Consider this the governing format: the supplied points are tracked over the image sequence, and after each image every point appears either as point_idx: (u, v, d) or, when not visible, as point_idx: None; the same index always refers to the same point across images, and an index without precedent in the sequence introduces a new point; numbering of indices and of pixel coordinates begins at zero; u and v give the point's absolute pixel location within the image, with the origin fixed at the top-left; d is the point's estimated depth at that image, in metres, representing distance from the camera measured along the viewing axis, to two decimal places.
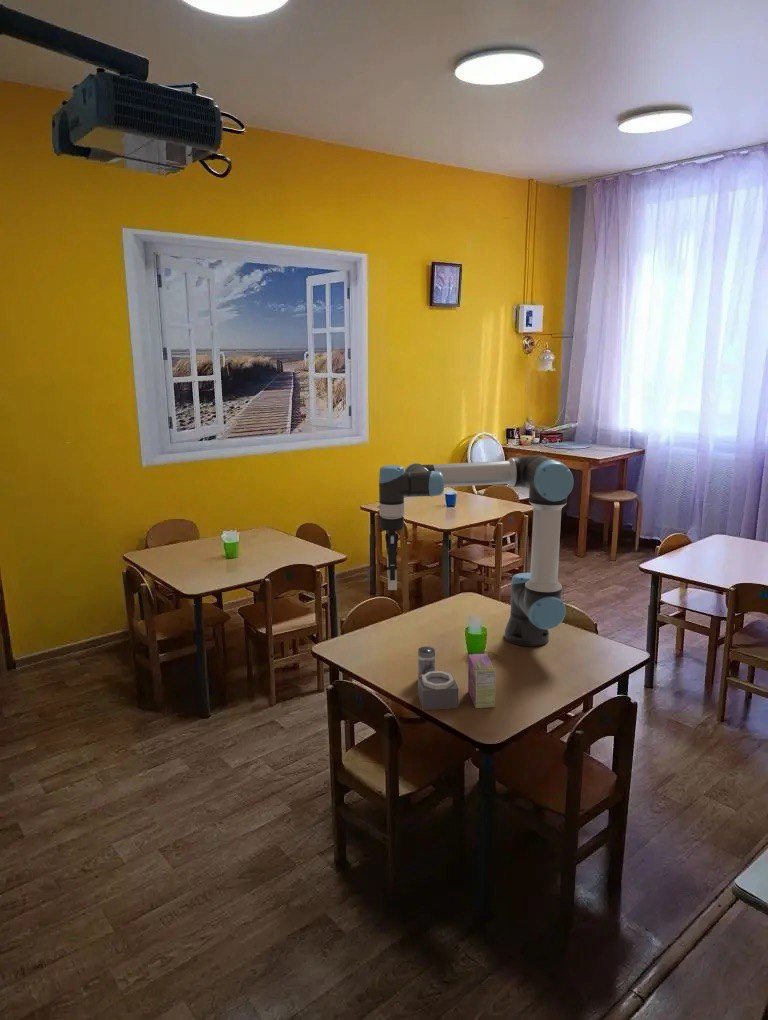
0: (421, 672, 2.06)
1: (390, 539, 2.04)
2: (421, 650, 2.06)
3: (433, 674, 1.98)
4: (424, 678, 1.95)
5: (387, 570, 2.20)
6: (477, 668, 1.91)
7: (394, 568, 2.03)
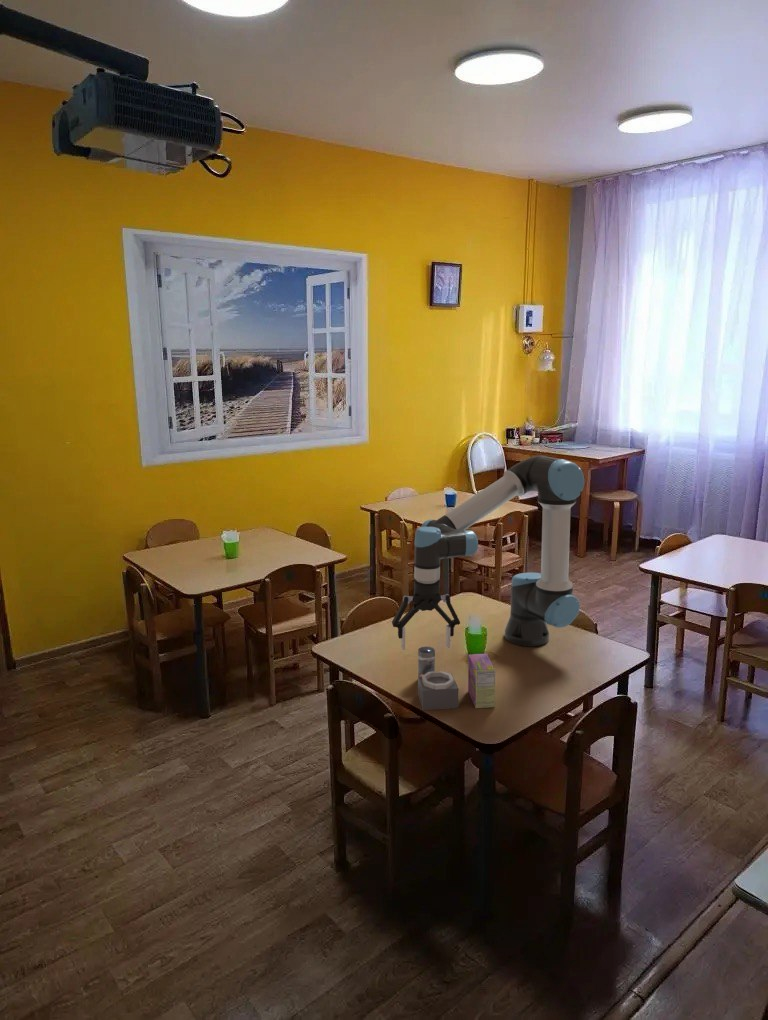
0: (421, 672, 2.06)
1: (403, 597, 2.03)
2: (421, 650, 2.06)
3: (433, 674, 1.98)
4: (424, 678, 1.95)
5: None
6: (477, 668, 1.91)
7: (392, 624, 2.03)
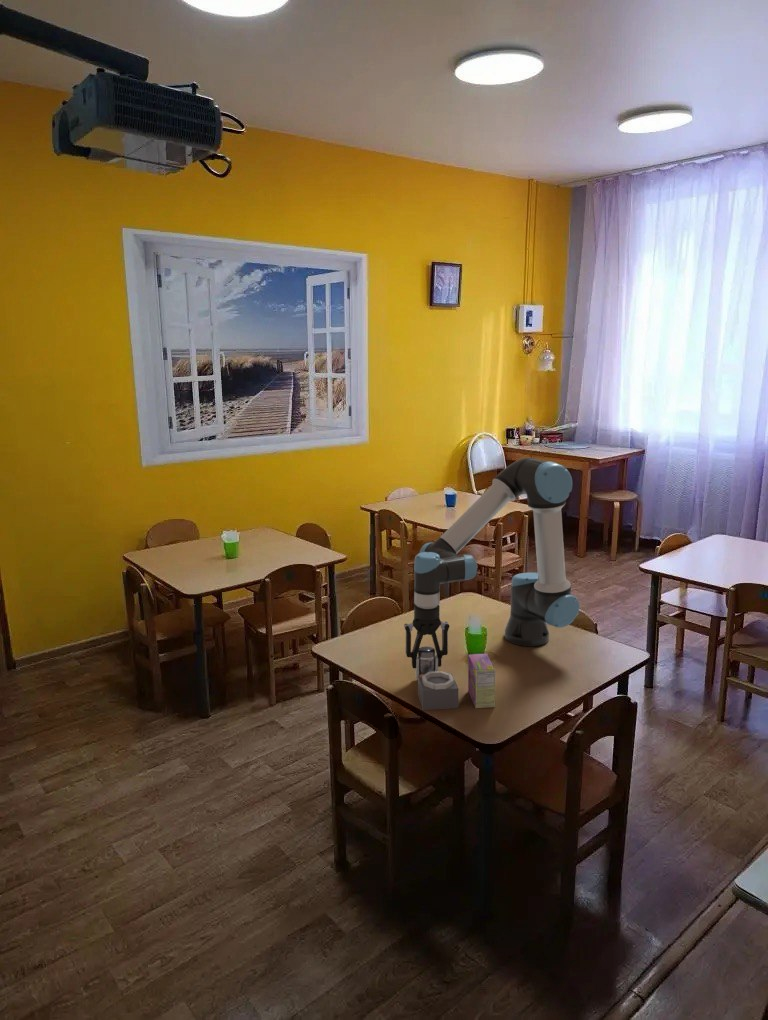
0: (421, 672, 2.06)
1: None
2: (421, 650, 2.06)
3: (433, 674, 1.98)
4: (424, 678, 1.95)
5: None
6: (477, 668, 1.91)
7: None
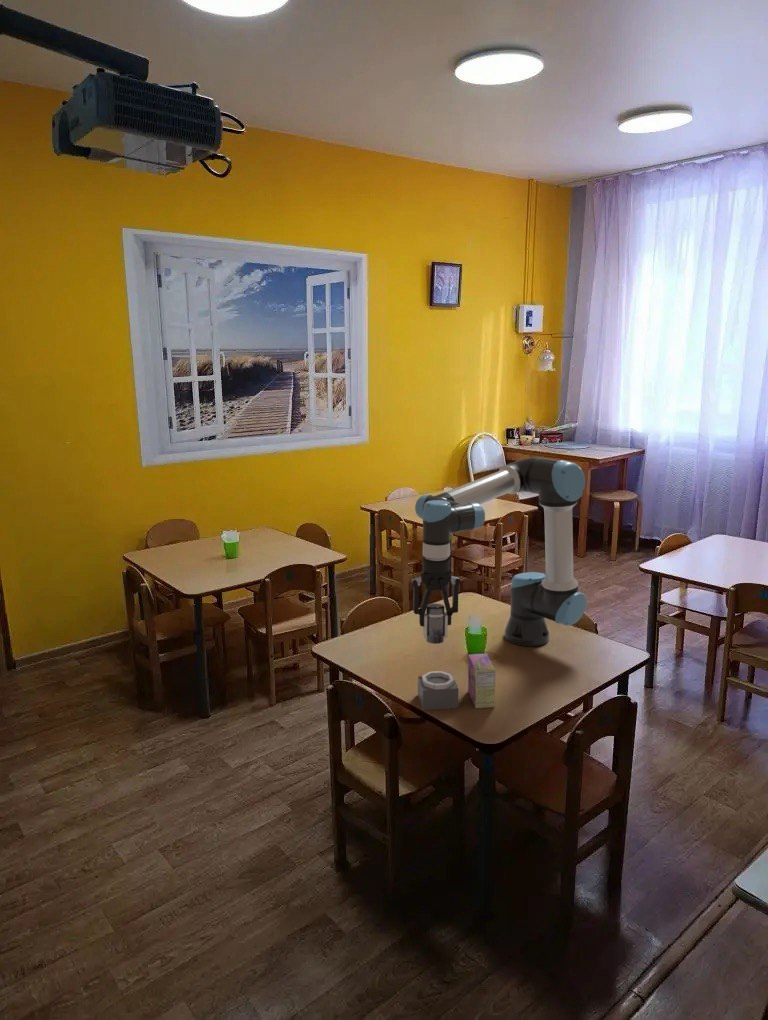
0: (429, 630, 1.92)
1: (412, 581, 1.90)
2: (429, 607, 1.92)
3: (433, 674, 1.98)
4: (424, 678, 1.95)
5: None
6: (477, 668, 1.91)
7: (414, 611, 1.91)
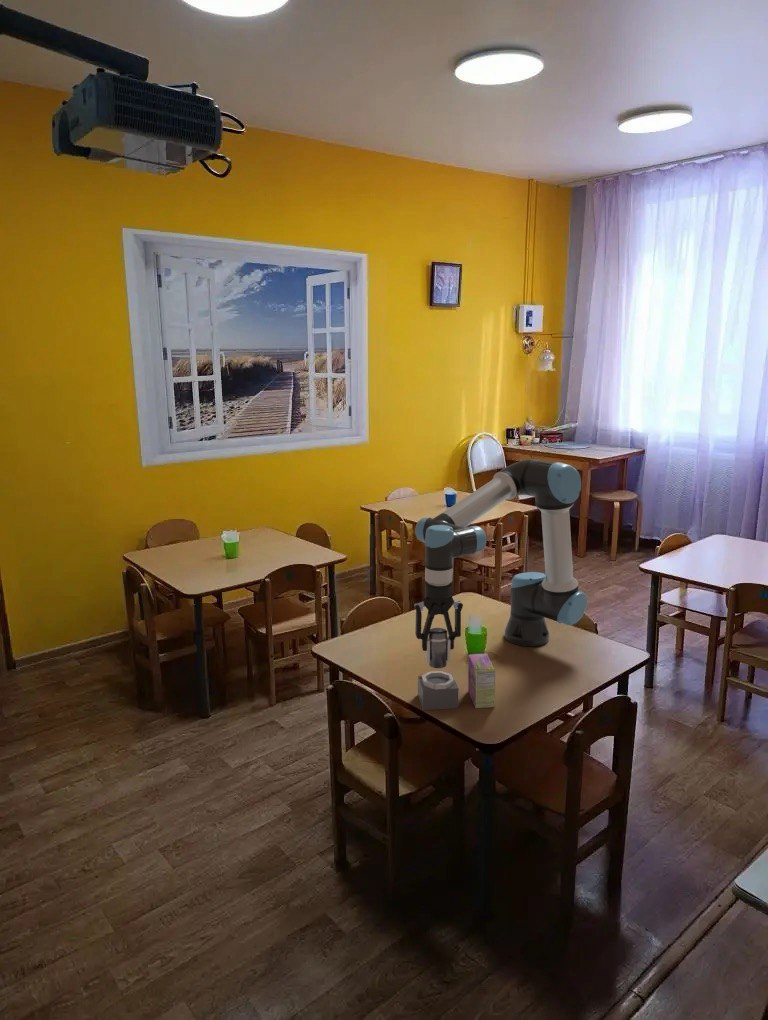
0: (432, 655, 1.91)
1: (414, 606, 1.90)
2: (432, 631, 1.91)
3: (433, 674, 1.98)
4: (424, 678, 1.95)
5: None
6: (477, 668, 1.91)
7: (416, 636, 1.91)
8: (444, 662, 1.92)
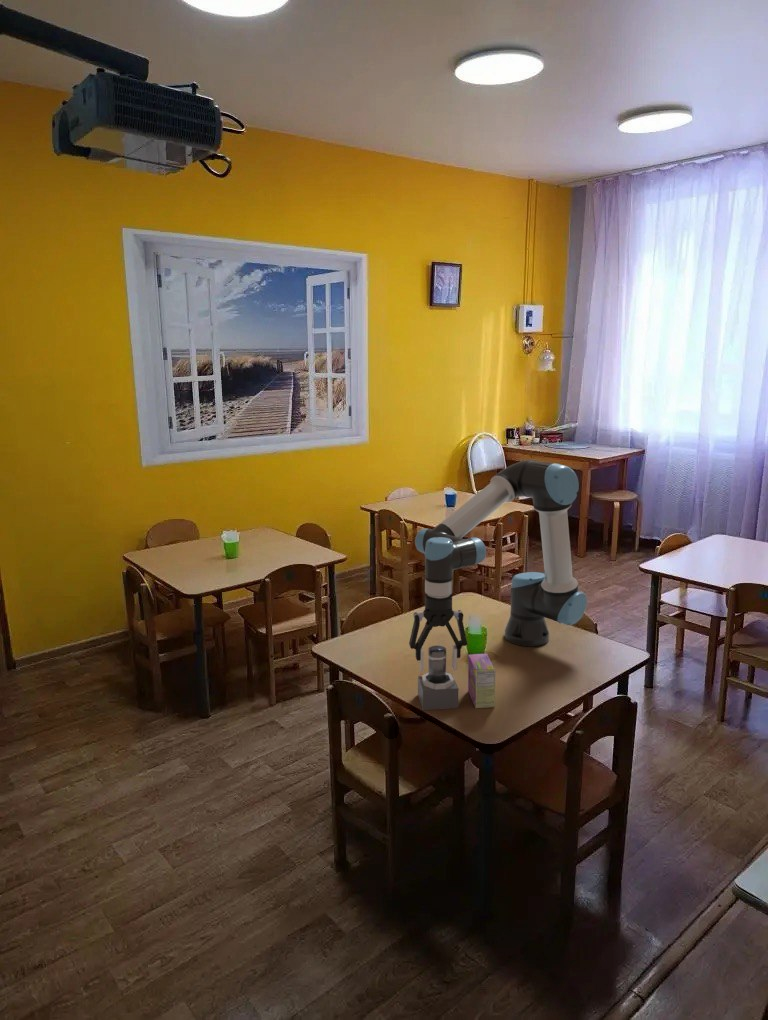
0: (432, 673, 1.93)
1: (414, 616, 1.91)
2: (431, 649, 1.93)
3: None
4: (424, 678, 1.95)
5: (452, 660, 1.96)
6: (477, 668, 1.91)
7: (410, 646, 1.91)
8: (444, 680, 1.93)
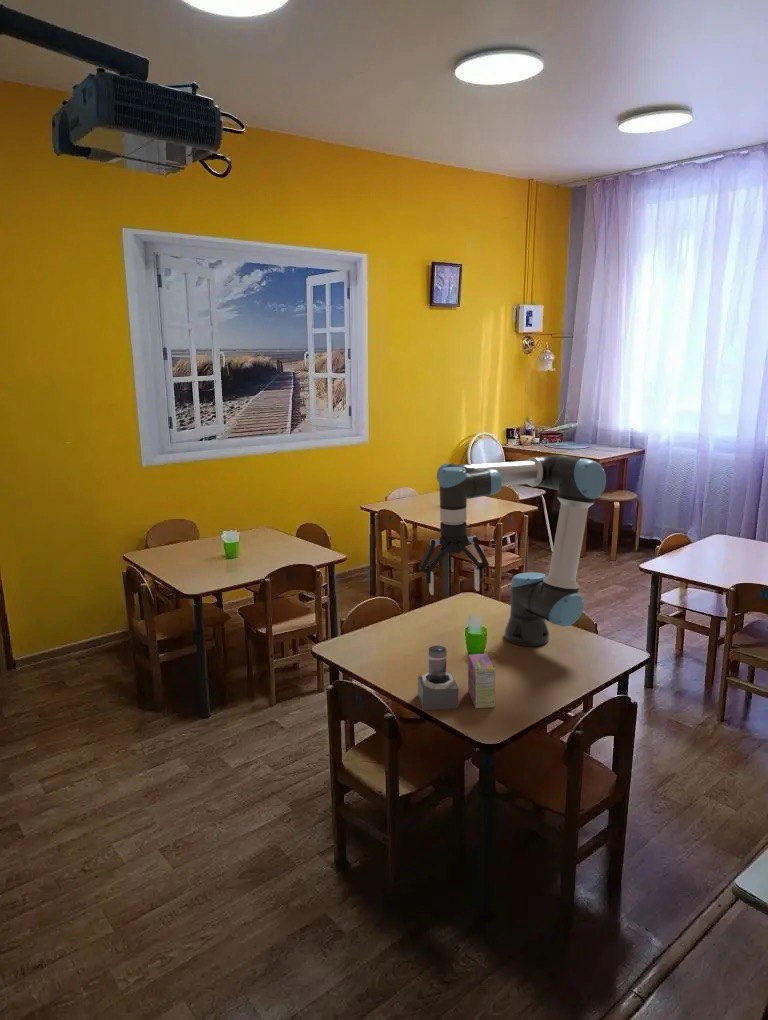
0: (432, 673, 1.93)
1: (430, 541, 1.97)
2: (432, 650, 1.92)
3: None
4: (424, 678, 1.95)
5: (474, 582, 2.03)
6: (477, 668, 1.91)
7: (420, 569, 1.98)
8: (444, 680, 1.93)
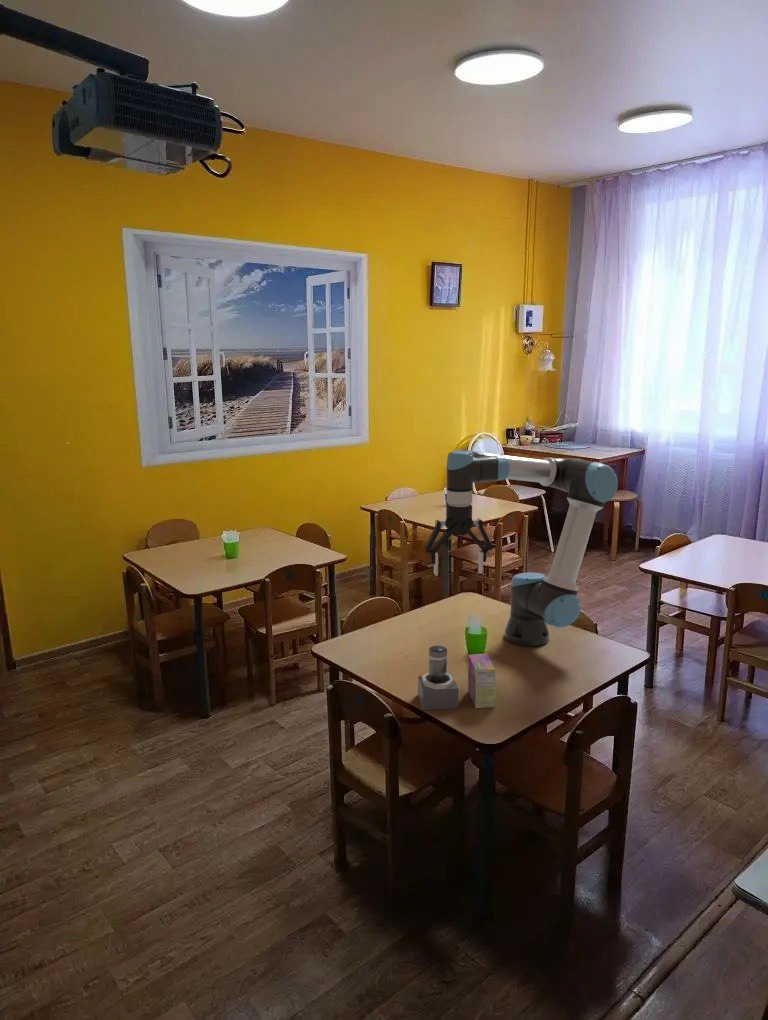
0: (432, 673, 1.92)
1: (436, 522, 2.02)
2: (432, 649, 1.92)
3: None
4: (424, 678, 1.95)
5: (478, 565, 2.07)
6: (477, 668, 1.91)
7: None
8: (444, 680, 1.93)
